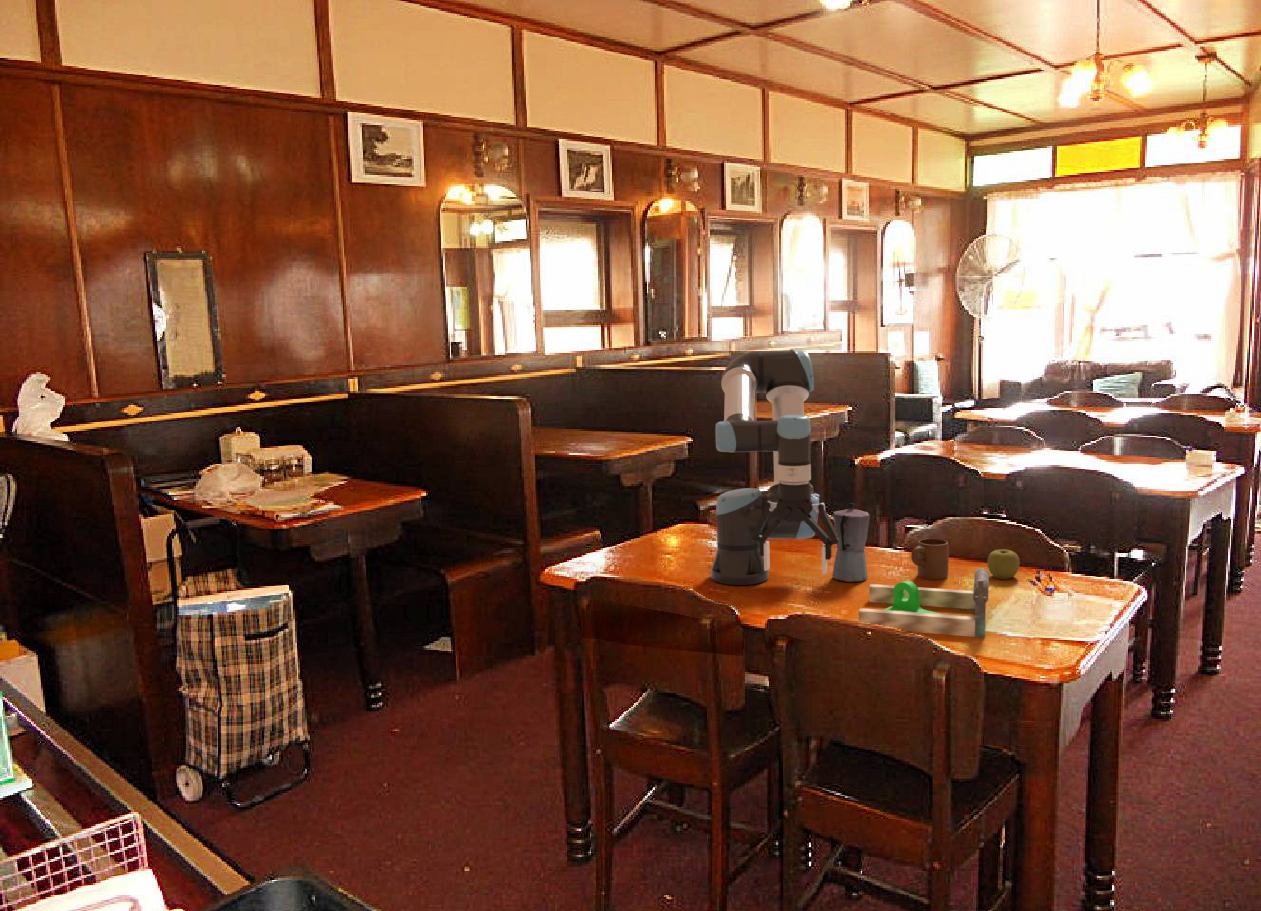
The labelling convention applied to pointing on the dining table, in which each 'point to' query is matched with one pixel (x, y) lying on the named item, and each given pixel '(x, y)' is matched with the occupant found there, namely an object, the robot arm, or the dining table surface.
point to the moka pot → (851, 544)
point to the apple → (1003, 563)
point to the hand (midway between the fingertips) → (795, 571)
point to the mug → (931, 559)
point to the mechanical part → (907, 604)
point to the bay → (936, 599)
